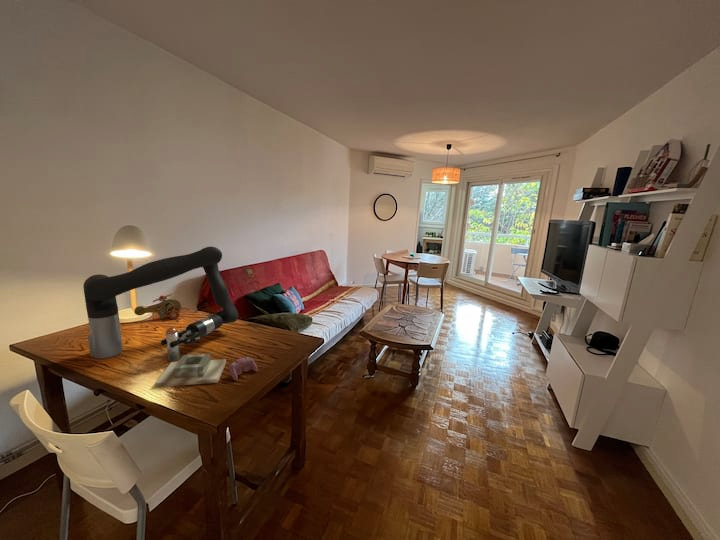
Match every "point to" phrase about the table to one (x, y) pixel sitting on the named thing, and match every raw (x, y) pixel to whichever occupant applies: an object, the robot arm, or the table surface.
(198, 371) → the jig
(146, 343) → the table surface
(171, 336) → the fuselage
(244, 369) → the video game controller
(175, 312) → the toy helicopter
